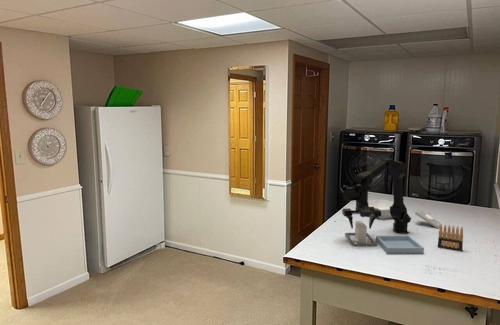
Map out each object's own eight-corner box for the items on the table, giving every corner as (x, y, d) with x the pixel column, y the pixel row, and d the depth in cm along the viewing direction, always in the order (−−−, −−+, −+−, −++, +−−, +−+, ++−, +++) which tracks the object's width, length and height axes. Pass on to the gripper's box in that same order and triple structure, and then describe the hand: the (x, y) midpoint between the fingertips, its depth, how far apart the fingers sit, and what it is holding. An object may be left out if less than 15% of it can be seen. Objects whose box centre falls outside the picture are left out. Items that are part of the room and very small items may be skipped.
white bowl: (380, 221, 226) (380, 209, 225) (358, 213, 244) (358, 202, 243) (405, 217, 234) (406, 205, 233) (382, 209, 252) (382, 198, 251)
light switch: (439, 226, 211) (416, 210, 217) (433, 234, 213) (410, 218, 219) (442, 222, 217) (419, 207, 224) (436, 230, 220) (414, 215, 226)
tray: (409, 241, 192) (409, 235, 192) (423, 254, 175) (423, 247, 175) (375, 241, 192) (376, 235, 192) (387, 254, 176) (387, 247, 175)
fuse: (361, 237, 199) (361, 221, 197) (366, 243, 190) (366, 226, 188) (355, 237, 199) (355, 221, 197) (359, 243, 190) (360, 226, 188)
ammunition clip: (462, 250, 179) (464, 226, 178) (462, 251, 178) (464, 227, 176) (437, 246, 185) (439, 222, 183) (437, 247, 183) (438, 223, 182)
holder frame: (367, 234, 202) (367, 232, 202) (377, 246, 186) (377, 244, 185) (345, 234, 203) (345, 232, 202) (353, 246, 186) (353, 244, 186)
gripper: (347, 203, 183) (346, 233, 185) (385, 202, 183) (384, 233, 185) (342, 197, 194) (341, 226, 196) (378, 197, 194) (377, 226, 196)
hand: (360, 228), depth 193 cm, fingers open, 9 cm apart
